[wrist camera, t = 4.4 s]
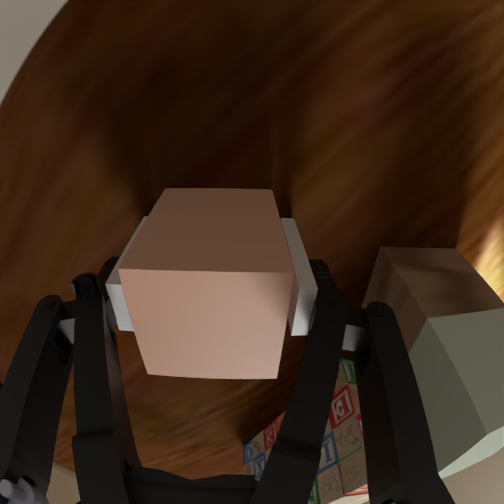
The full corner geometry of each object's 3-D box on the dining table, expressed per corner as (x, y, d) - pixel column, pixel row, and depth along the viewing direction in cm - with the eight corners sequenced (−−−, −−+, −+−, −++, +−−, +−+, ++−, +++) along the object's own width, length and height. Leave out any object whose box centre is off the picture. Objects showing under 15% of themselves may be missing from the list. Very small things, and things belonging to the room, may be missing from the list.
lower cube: (355, 323, 23) (382, 396, 17) (379, 246, 19) (427, 318, 13) (426, 317, 23) (460, 378, 17) (455, 248, 20) (507, 307, 14)
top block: (173, 275, 20) (147, 373, 13) (165, 188, 17) (118, 268, 10) (265, 277, 20) (276, 378, 13) (272, 189, 17) (294, 272, 10)
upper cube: (382, 396, 17) (411, 489, 11) (427, 318, 13) (487, 434, 7) (460, 378, 17) (494, 453, 11) (507, 307, 14) (562, 389, 8)
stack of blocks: (283, 449, 36) (290, 526, 26) (242, 445, 35) (244, 527, 24) (387, 364, 26) (426, 474, 16) (338, 354, 25) (373, 484, 14)
